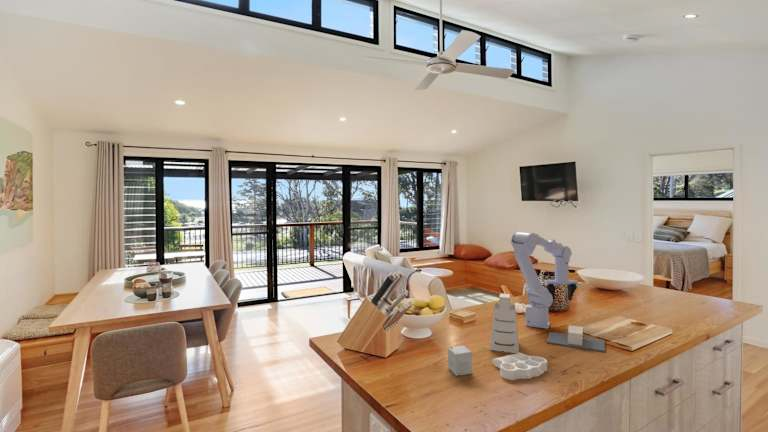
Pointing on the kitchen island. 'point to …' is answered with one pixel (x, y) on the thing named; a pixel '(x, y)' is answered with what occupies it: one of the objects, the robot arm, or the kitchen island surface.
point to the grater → (504, 326)
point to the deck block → (575, 335)
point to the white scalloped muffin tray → (520, 366)
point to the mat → (586, 344)
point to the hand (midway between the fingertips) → (561, 300)
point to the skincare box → (460, 360)
